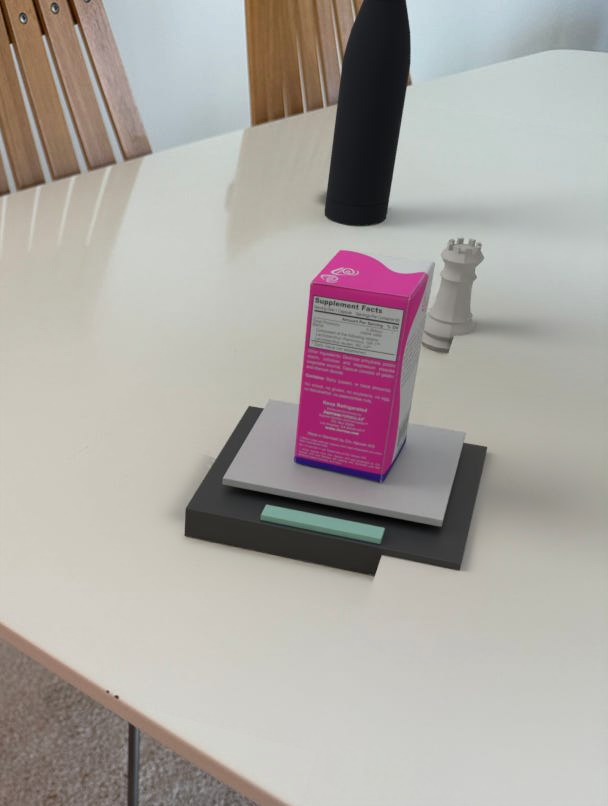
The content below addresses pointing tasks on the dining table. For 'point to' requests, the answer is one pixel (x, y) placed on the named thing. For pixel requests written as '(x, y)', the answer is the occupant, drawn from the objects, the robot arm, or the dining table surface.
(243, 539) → the kitchen scale
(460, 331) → the rook chess piece
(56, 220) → the dining table surface
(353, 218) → the wine bottle
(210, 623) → the dining table surface
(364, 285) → the supplement box
